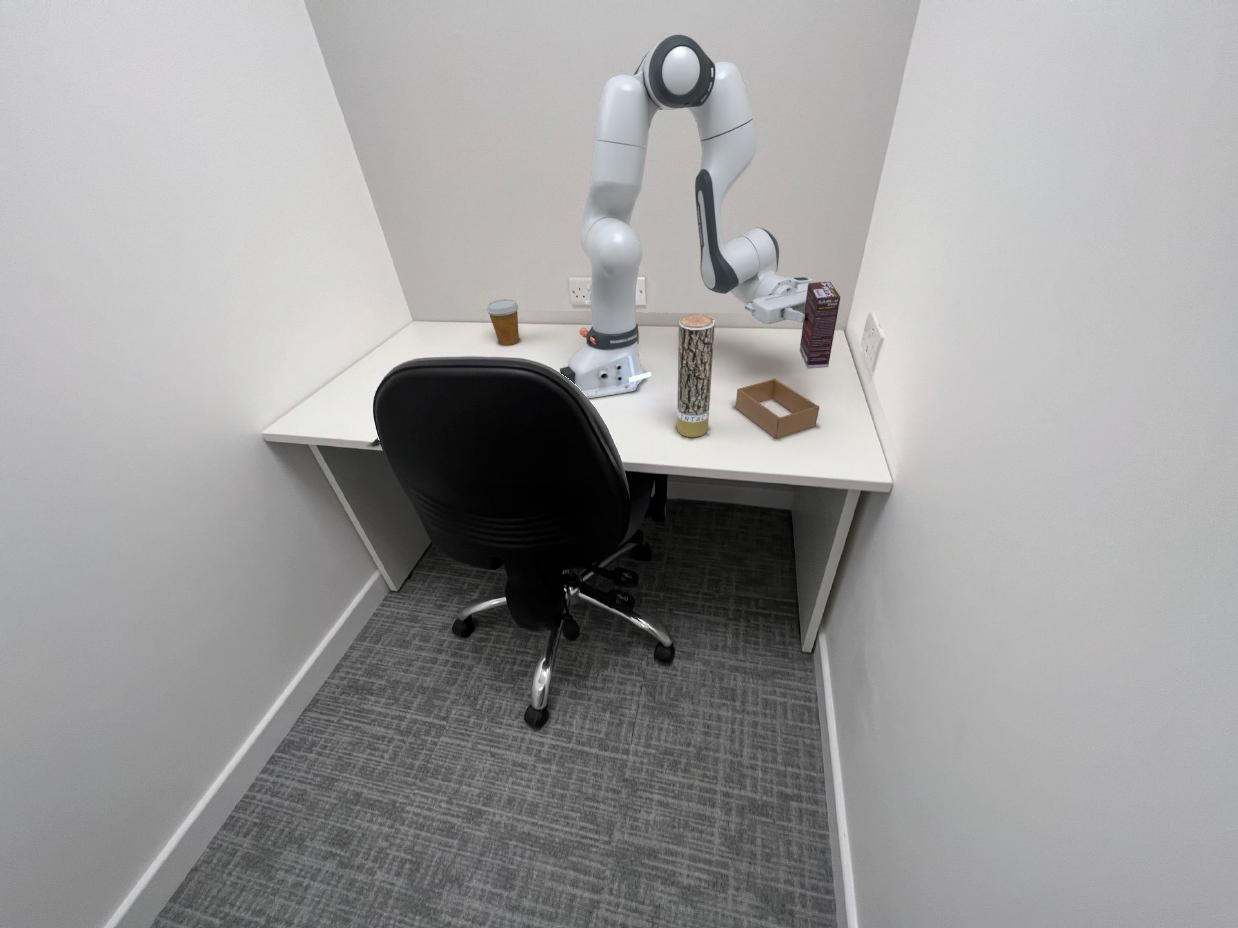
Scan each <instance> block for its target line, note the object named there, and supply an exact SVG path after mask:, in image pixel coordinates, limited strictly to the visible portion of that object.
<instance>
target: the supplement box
mask: <svg viewBox="0 0 1238 928" xmlns="http://www.w3.org/2000/svg"><path fill="white" fill-rule="evenodd" d="M840 303H841V295H840V294H839V292H838V290H837V289H836V288H835V286H834V285H833V284H832V282H831V281H817V282H815V283H809V284H808V289H807V297H806V304H805V313H808V320H807V321H805V322H802V328H801V335H800V336H801V337H800V344H799V353H800V355H801V358H802V360H803V363H804V365H805V368H806V369H820V368H821V369H822V368H823V369H824V368H829V365H830V360H831V354H832V349H833V348H832V347H833V342H834V337H835V331H836V325H837V320H838V314H839V313H838V312H839V308H840Z"/></svg>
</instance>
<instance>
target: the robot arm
mask: <svg viewBox="0 0 1238 928" xmlns="http://www.w3.org/2000/svg"><path fill="white" fill-rule="evenodd" d="M600 95H601V96H600V99H599V105H598V108H597V115H596V120H595V126H594V136H593V138H594V139H593V146H592V156H591V157H592V158H591V170H590V180H589V186H588V193H587V197H586V202H585V206H584V213H583V217H582V223H581V228H580V244H581V248H582V250H583V252H584V253H585V255H586V256H587V257H588V258H589V262H590V266H591V283H590V284H591V285H590V294H589V302H590V312H591V324H592V325H591V327H590V329H589V330H588V329H587V328H586V327H581V328H580V329H579V335H580V336H582V338H586V339H585V340H586V343H584V344H583V345H582V346H581V347H580V348H579V350H577V351H576V352H575V353H574V354H573V355H572V356H571V357H570V358H569V359H568V361H567V362H568V363H567V366H564V367H560V368H559V374H560V373H561V374H563V375H564V376H566V377H567V378H569V380H571V381H572V382H573V383H574V384H576V385H577V386H578V387H579V388H580V389H581V391H583V393H585V395H586V396H587V398H588V399H593V398H600V397H606V396H607V397H608V396H612V395H618V394H624V393H632V392H635V391H636V390H637V388H638V385H639V384H641V382H642V381H644V379H646V378H649V377H651V375H652V372H650V371H649V372H644V368H643V367H642V362H641V358H640V351H639V344H640V331H639V323H637V301H636V300H637V299H636V297H637V295H636V294H637V284H638V277H639V269H640V265H641V263H642V260H643V247H642V246H643V245H642V243H641V241H640V238H639V235H638V234H637V232H636V231H635V230H634V228H632V227H631V218H632V215H633V212H634V209H635V205H636V203H637V199H638V197H639V195H640V194H641V191H642V187H643V181H644V174H645V173H644V172H645V165H646V159H647V151H648V143H649V135H650V134H649V133H650V129H651V125H652V122H653V119H654V117H655V116H656V114H657V113H658V112H659V111H662V110H665V111H674V110H679V109H688V110H689V111H690V112H691V114H692V116H693V118H694V120H695V123H696V125H697V132H698V135H699V136H698V137H699V141H700V146H701V163H700V169H699V172H698V174H697V175H696V176H695V181H694V182H695V183H694V197H695V208H696V218H697V227H698V238H699V247H700V264H699V265H700V266H699V268H700V276H701V280H702V282H703V285H704V286H705V287H706V288H707V289H708V290H709V291H711V292H714V293H717V294H722V295H726V294H727V293H729V292H730V294H732V295H733V297H734V298H736V299H737V300H739V301H740V302H742V303H744V304H745V305H744V310H746V311H747V312H748V311H749V312H751V313H750V314H751V316H752V317H753V318H754V319H755V320H757V321H759V322H760V323H762V324H766V325H771V324H775V323H779V322H783V321H793V322H798V323H802V324H803V322H805V321H807V320H808V313H805V304H806V297H807V289H808V284H809V283H816V282H813V281H814V280H813V278H811V277H808V276H805V277H804V276H802V277H790V276H782V275H779V274H777V272H778V268H779V262H780V261H779V260H780V247H779V244H778V243H779V242H778V240H777V238H776V237H775V236H774V235H773V233H771V232H770V231H769V230H767V229H765V228H763V227H759V226H757V227H755V228H753V229H750V230H748V231H747V232H745V233H742V234H741V235H739V236H737V237H736V238H733V239H732V240H730V241H728V242H727V243H724V235H723V232H724V231H723V222H722V221H723V220H722V206H723V202H724V199H725V198H726V196H727V194H728V192H729V191H730V190H731V188H732V187H733V186H734V185H735V183H736V182H737V181H738V180H739V179H740V178H741V177H742V175H744V173H745V172H746V170H747V169H749V166H750V165H751V163H752V161H753V160H754V157H755V154H756V151H757V130H756V124H755V119H754V114H753V109H752V105H751V100H750V96H749V94H748V89H747V86H746V83H745V81H744V78H743V74H742V73H741V70H740V69H739V66H737V65H736V64H735V63H734V62H730V61H718V62H715V63H714V62H713V60H712V59H711V58H710V57H709V56H708V55H707V53H706V52H705V51H704V49H703V48H702V47H701V46H700V44H698V43H697V41H696V40H694V39H693V38H692V37H690V36H687V35H685V34H673V35H670V36H668V37H665V38H662V39H660V40H659V41H657V42H656V43H654V44H653V46H652V47H651V48H650V49H649V51H648V52H647V53H646V54H645V55H644V57H643V58H642V60H641V62H640V64H639V66H638V67H637V68H636V70H635V71H634V73H633V74H618V75H615V76H613V77H610V78H609V79H608V80H607V81H606V83H604V86H603V89H602V91H601V94H600ZM380 442H381V441H379V440H378V437H376V438H375V439H374V440H373V442H372V443H371V447H376V446H378V445H379V443H380Z"/></svg>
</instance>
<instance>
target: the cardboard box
mask: <svg viewBox="0 0 1238 928" xmlns="http://www.w3.org/2000/svg"><path fill="white" fill-rule="evenodd" d="M768 400H773V401H775V402H776V403H777V404H779V405H781V406H782V407H784V408H785V409H787V410H788V411H790V412H791V413H790V414H787V415H783V416H779V415H777V414H776V413H775V412H773V411H771V410H770V409H769V408H767V407H766V406H764V405H763V404H761V402H764V401H768ZM735 409H736V410H737V411H738V412H740V413H742V414H743V415H744V416H745V417H747V418H748V419H749V420H750V421H752V422H753V423H754V424H756V425H757V426H758V427H760V428H761V429H762V430H764V431H765V432H766V433H767V434H769V435H770V436H772V437H773V439H776V440H778V439H780V438H784V437H787V436H790V435H793V434H796V433H799V432H801V431H802V432H803V431H805V430H808V429H811V428H814V427H816V426H817V420H818V416H819V412H820V405H818V404H816V403H814V402H813V401H812V400H810V399H808V398H807V397H805V396H803V395H802V394H800V393H798V392H797V391H796V390H794V389H792V388H791V387H789V386H788V385H786V384H784V383H783V382H781V381H779V380H778V379H776V378H771V379H768V380H765V381H761V382H757V383H754V384H750V385H747V386H743V387H740V388H737V389H736V398H735Z"/></svg>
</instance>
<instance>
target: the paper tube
mask: <svg viewBox="0 0 1238 928" xmlns="http://www.w3.org/2000/svg"><path fill="white" fill-rule="evenodd" d="M678 321H679V322H678V348H677V349H678V353H677V354H678V355H677V356H678V357H677V399H676V400H677V403H676V404H677V405H676V415H677V416H676V429H677V431H678V433H679V434H680V435H682V436H684V437H687V438H698V437H702V436H704V435H706V433H707V432H708V430H709V417H710V404H711V403H710V401H711V390H712V389H711V386H712V373H713V356H714V340H715V326H716V325H715V324H716V323H715V322H716V320H715V318H713V317H712V316H710V315H707V314H688V315H684V316H682V317H680V319H679V320H678Z"/></svg>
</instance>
